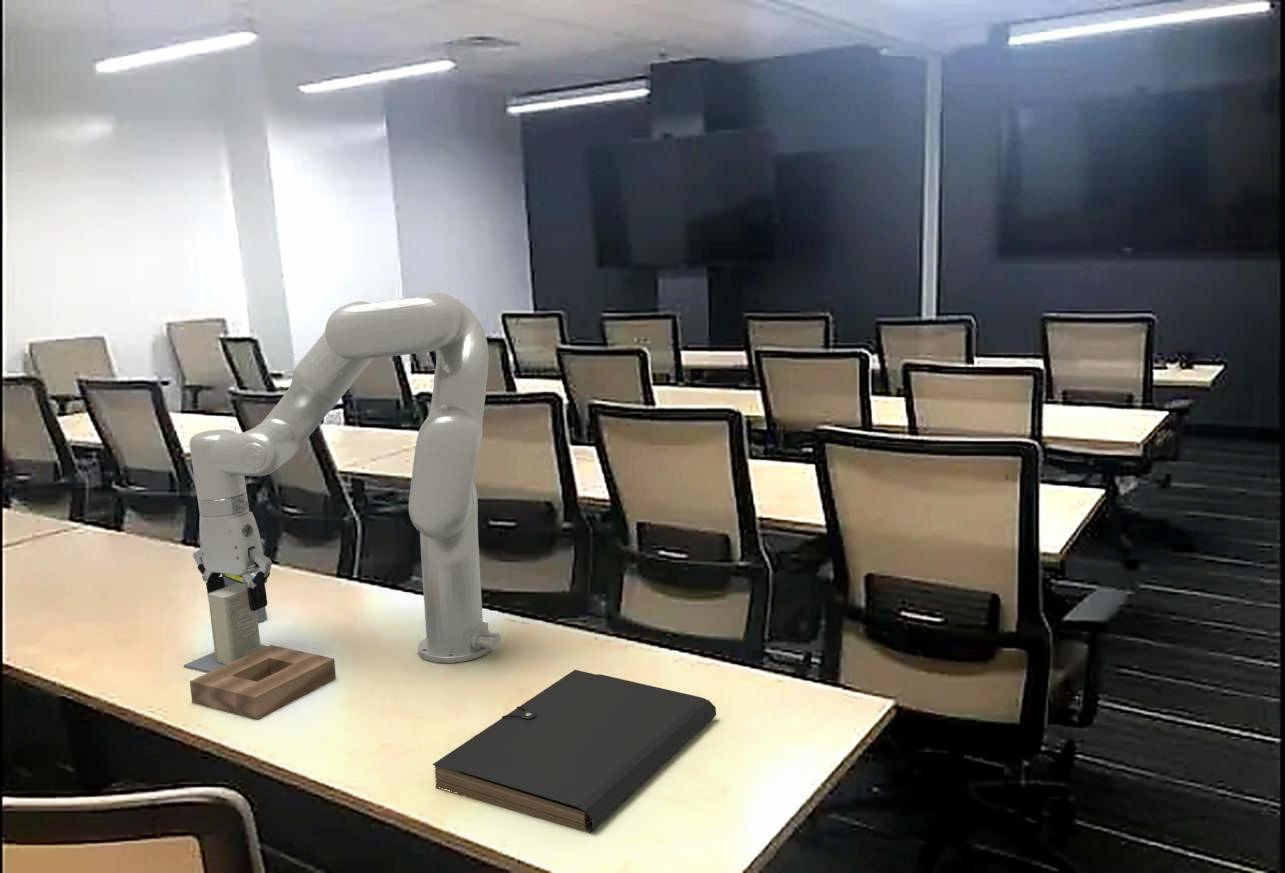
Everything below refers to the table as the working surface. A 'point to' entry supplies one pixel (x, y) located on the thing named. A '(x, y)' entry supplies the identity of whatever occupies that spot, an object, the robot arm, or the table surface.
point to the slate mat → (207, 663)
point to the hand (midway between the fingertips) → (238, 605)
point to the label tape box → (240, 579)
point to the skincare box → (233, 623)
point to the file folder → (575, 748)
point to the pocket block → (262, 681)
